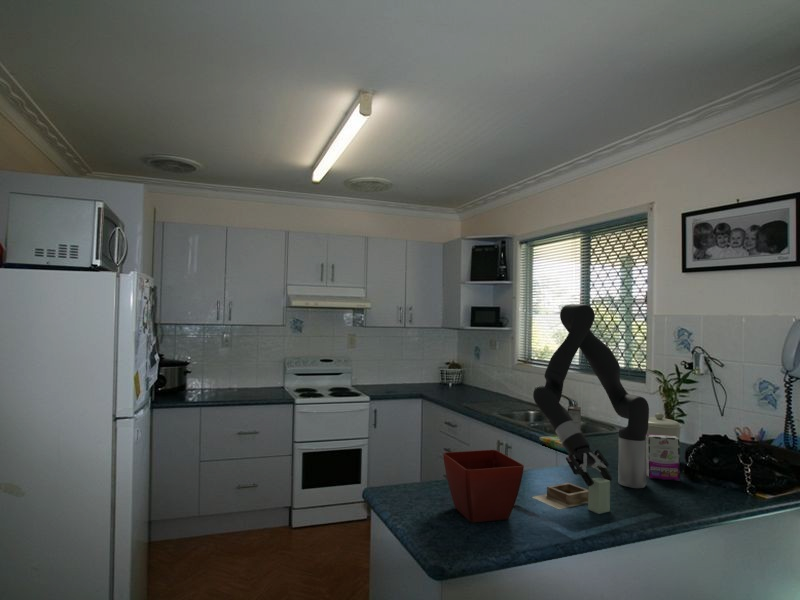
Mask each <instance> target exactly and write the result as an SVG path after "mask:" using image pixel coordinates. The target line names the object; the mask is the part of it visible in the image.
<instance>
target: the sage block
mask: <svg viewBox="0 0 800 600" xmlns="http://www.w3.org/2000/svg"><path fill="white" fill-rule="evenodd" d="M591 478H592V477H591ZM592 480H593V482H594V484H593V485H592V486H588V485H587V486H588V489H587V490H588V503H587V510H588V511H591V512H593V513H595V514H598V515H599V514H604V513H608V512H610V511H611V481H609V480H606V479H604V478H603V477H601V476H599V477H593V478H592Z"/></svg>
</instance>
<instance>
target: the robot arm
mask: <svg viewBox="0 0 800 600" xmlns="http://www.w3.org/2000/svg"><path fill="white" fill-rule="evenodd" d="M595 317H596V314H595V310H594V309H593V308H592V307H591V306H590V305H588V304H585V303H584V304H583V303H581V304H580V303H577V304H575V303H570V304H566V305H564V306H562V308H561V310H560V312H559V319H560V321H561V324H562V326H563V327H564V328H565V330H567V332H568V334H567V335H566V337H565V339H564V341H562V343H561V344H560V345H559V346H558V347H557V348H556V350H555V351H554V353H553V354H552V356H551V357H550V358H549V359H550V360H549V361H548V365H547V366H546V369H545V372H544V378H545V385H541V386H537V387H536V388H535V389H534V391H533V394H532V395H533V400H534V403H535V404H536V406H537V407H538V408H539V410H540V412H542V413H543V415H544V416H545V417H546V418H547V420H548V422H549V424H550V426H551V427H552V429H553V430H554V431H555V434H556V435H557V436H558V438H559V439H560V441H561V443H562V444H563V446H564V447H565V449H566V451H567V452H568V453H567V452H566V453H567V454H568V455H567V457H565V460H566V462H567V463H568V466H569V467H570V468H571V471H572V473H573V474H574V476H576V475H577V476H578V475H579V476H580V477H581V478H582V479H583V481H584V483H585V484H586V485H587V486H592V485H593V484H594V482H593V480H592V477H591V475H590V474H589V472H587V467H592V468H593V469H596V470H597V471H598V472H600V473H599V474H600V475H601V476H602V478H603V479H606V480H609V481H610V482H611V481H612V480H613V478H612V475H611V473H609V471H608V467H609V466H610V464H609V462H608V461H607V459H606V458H605V457H604V455H603V454H602V452H601V451H600V450H599V449H596V450H595V451H592V450H591V448H590V447H591V446H590V442H589V441H588V439H587V438H586V436H585V435H584V433H583V431H582V430H581V429H579V427H578V426H577V425H576V424H575V422H574V421H573V419H572V418H571V416H570V415H569V413H568V410H566V409H565V408H564V407H563V406H562V405H561V404H560V402H561V398H562V394H563V388H564V383H565V380H566V378H567V374H568V373H569V369H570V367H571V364H572V363H573V361H574V357H575V356H576V354H577V352H578V350H579V349H580V351H581V352H582V354H583V355H584V357H585V359H586V360H587V361H586V362H588V364H589V366H590V368H591V369H592V371H593V373H594V374H595V376H596V378H597V379H598V380H599V382H600V384H601V385H602V387H603V389H604V391H605V392H606V394H607V397H608V399H609V402H610V403H611V405H612V408H613V410H614V411H615V413H616V414H617V416H619V417H621V418H623V419H626V420H627V421H628V422H627V426H626V427H621V428H620V429H618V457H617V458H618V460H617V461H618V463H617V464H618V467H617V471H618V472H617V473H618V475H617V476H618V477H617V479H618V480H617V482H618V484H619V485H621V486H623V487H627V488H632V489H643V488H645V487H646V486H647V479H648V476H647V460H646V434H647V431H648V421H649V417H650V408H649V402H648V401H647V399H646V398H644V396H643V397H642V396H640V395H633V394H629V393H628V392H627V391H626V389H625V387H624V386H623V384H622V383H621V378H620V377H621V366H620V363H619V361H618V359H617V358H616V356H615V355H614V353H613V351H612V350H611V349H610V347H609V346H608V345H606V344H605V342H604V341H602V340H600V339H599V338H598V337H597V336H596V335H595V334H594V333H593V332H592V330H591V329H592V326H593V325H594V323H595Z"/></svg>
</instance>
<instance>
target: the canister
mask: <svg viewBox="0 0 800 600" xmlns="http://www.w3.org/2000/svg"><path fill="white" fill-rule="evenodd" d="M682 427H683V425H682V424H681V423H680V422H678V421H676V420H673V419H669V418H665V417H664V413H662V412H656V413H654V417H653V416H649V421H648V431H647V434H649V435H666V436H677V437H678V438H679V439H680V436H681V430H682V429H681V428H682Z"/></svg>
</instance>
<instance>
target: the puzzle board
mask: <svg viewBox="0 0 800 600" xmlns="http://www.w3.org/2000/svg"><path fill="white" fill-rule="evenodd" d="M531 498H533V499H534V500H536V501H539V502H540V503H543V504H546V505H548V506H550V507H553V508H555V509H557V510H563V509H568V508H571V507H577V506H581V505H587V504H588V489H587V488H584V487H582V486H579V485H577V484H574V483H570V482H565V483H559V484H554V485H548V486H546V493H545V494H540V495H535V496H532V497H531Z"/></svg>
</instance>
